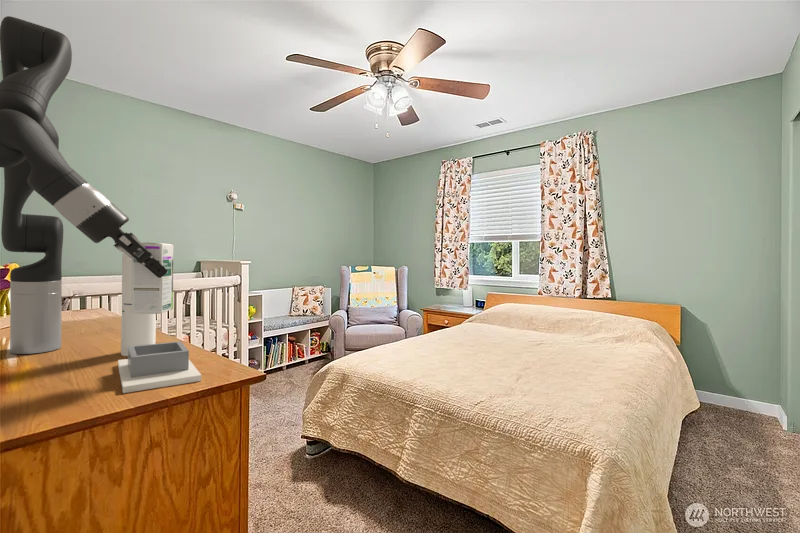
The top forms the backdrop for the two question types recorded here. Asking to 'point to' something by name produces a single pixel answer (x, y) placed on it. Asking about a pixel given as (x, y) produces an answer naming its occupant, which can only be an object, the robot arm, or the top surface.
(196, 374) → the dock
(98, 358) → the top surface
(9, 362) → the top surface
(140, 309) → the syrup box
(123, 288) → the cylindrical container
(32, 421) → the top surface
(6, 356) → the top surface
